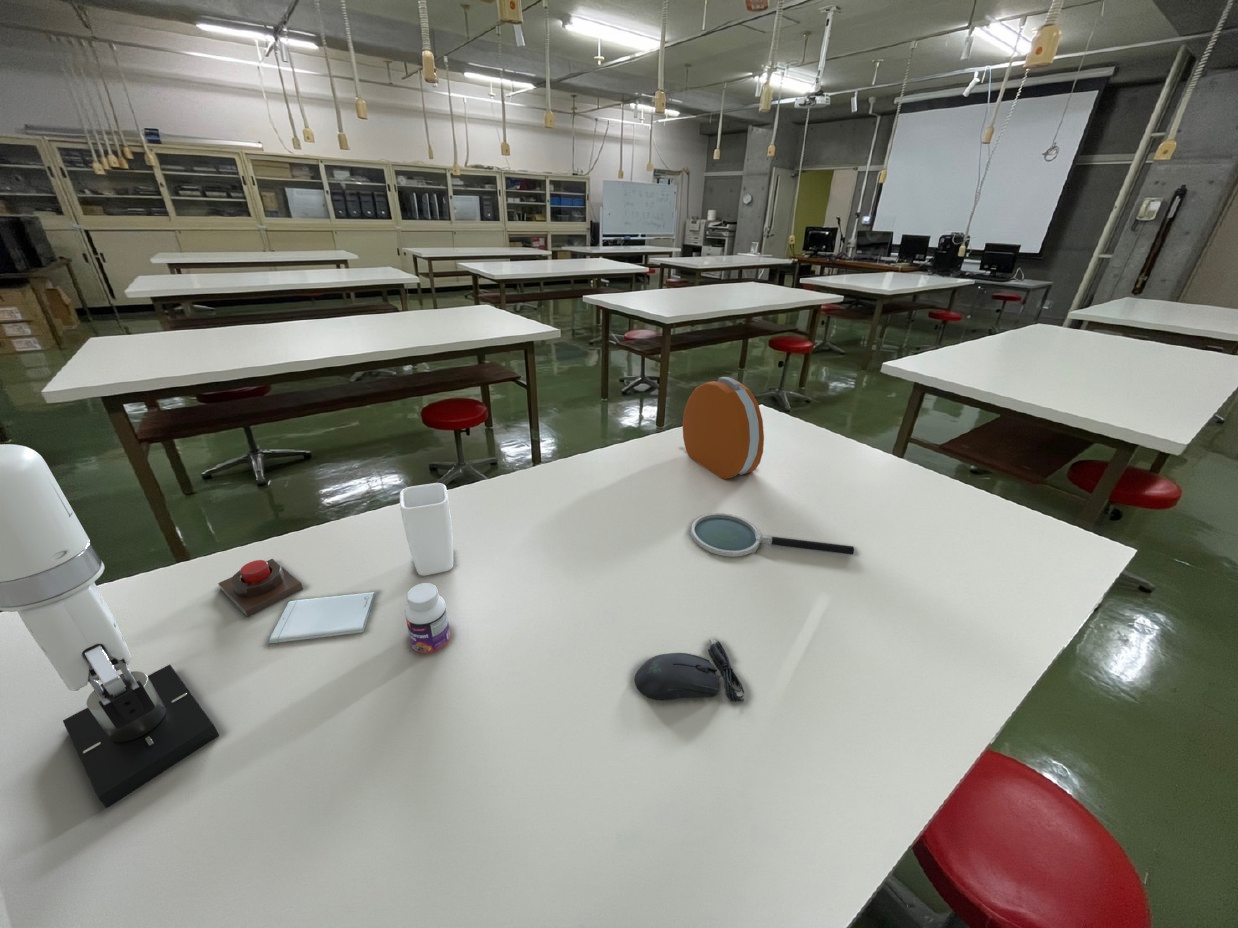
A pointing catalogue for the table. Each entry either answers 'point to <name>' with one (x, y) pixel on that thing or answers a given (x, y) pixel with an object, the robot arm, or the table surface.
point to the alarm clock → (724, 428)
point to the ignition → (260, 589)
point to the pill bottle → (426, 618)
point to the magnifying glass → (745, 537)
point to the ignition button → (255, 571)
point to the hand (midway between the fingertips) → (122, 693)
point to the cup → (428, 527)
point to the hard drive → (323, 617)
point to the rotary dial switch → (141, 741)
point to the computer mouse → (687, 675)
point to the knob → (138, 725)
